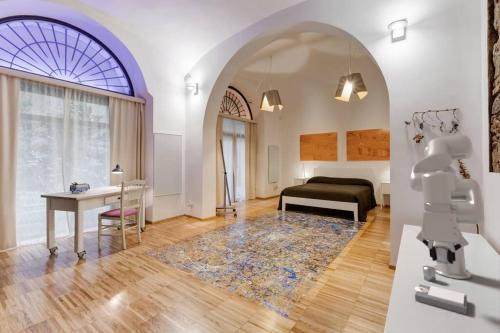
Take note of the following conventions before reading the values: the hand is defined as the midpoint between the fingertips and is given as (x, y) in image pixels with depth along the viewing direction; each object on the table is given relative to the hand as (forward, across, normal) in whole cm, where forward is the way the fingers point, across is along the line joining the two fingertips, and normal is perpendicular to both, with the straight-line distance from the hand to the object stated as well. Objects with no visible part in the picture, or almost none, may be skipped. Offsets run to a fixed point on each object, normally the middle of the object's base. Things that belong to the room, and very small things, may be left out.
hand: (442, 260), depth 78 cm
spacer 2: (0, 0, 0) cm, 0 cm away
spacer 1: (+14, +6, -17) cm, 23 cm away
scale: (+14, +2, 0) cm, 14 cm away
